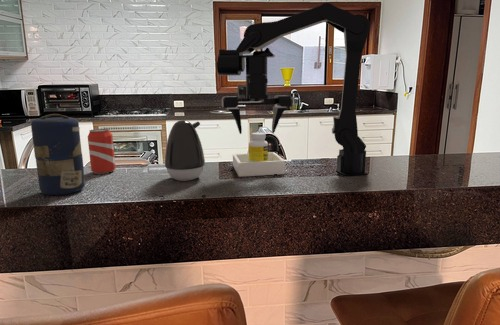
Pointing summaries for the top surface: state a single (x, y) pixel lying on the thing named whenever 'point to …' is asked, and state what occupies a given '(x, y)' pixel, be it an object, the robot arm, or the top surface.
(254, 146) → the supplement bottle
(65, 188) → the canister
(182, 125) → the pump dispenser
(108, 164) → the beverage can
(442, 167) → the top surface
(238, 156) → the tray
